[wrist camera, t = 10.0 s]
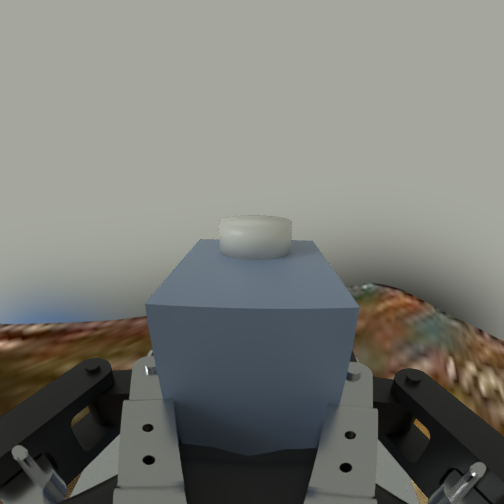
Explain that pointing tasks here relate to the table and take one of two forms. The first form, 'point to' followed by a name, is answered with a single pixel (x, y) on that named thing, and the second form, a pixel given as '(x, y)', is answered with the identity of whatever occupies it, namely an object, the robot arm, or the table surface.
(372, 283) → the table surface
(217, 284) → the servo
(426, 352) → the table surface
